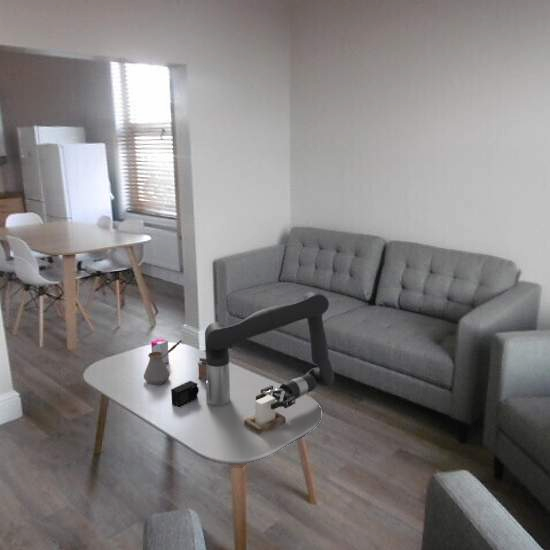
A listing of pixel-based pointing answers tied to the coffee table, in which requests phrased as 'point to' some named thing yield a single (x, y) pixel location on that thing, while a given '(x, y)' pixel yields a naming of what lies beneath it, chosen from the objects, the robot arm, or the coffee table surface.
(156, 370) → the coffee pot
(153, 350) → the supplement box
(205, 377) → the lighter
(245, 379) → the coffee table surface
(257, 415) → the key block
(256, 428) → the frame
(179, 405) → the digital camera
